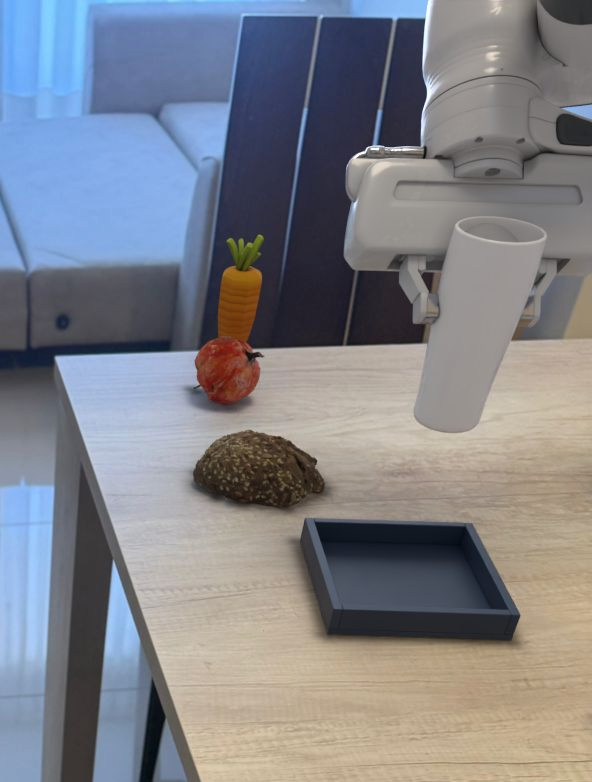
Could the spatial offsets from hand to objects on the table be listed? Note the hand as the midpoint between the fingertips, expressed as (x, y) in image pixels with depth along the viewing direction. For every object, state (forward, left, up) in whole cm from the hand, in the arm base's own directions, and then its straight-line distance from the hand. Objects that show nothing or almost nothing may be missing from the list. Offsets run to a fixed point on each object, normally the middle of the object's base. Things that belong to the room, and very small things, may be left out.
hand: (476, 322), depth 90 cm
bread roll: (+11, -18, -23) cm, 31 cm away
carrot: (+11, -48, -23) cm, 55 cm away
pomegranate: (+13, -38, -23) cm, 47 cm away
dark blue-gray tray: (+1, +2, -23) cm, 23 cm away
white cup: (0, -1, -9) cm, 9 cm away
